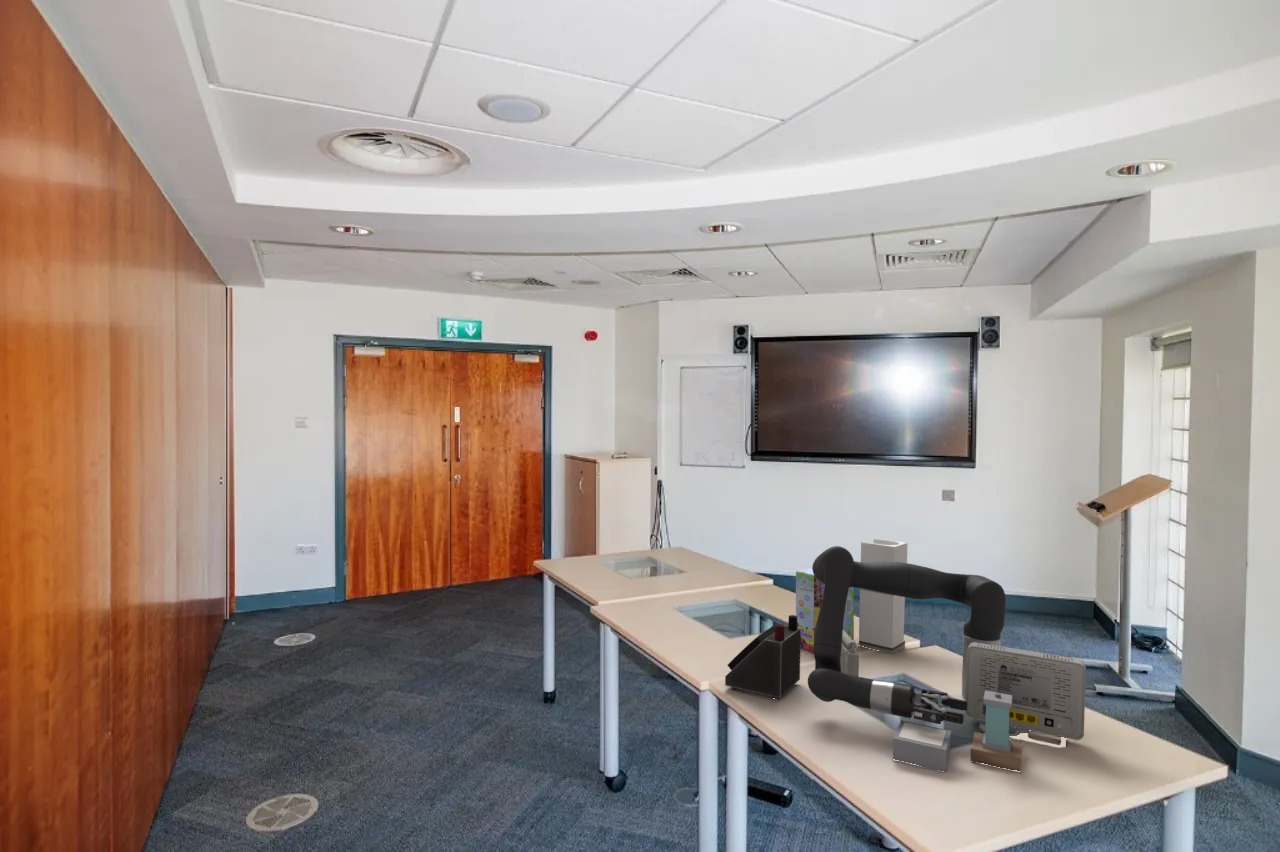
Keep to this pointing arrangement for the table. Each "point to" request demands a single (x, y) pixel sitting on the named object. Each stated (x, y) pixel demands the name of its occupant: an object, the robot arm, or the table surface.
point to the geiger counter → (849, 656)
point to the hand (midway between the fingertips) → (965, 712)
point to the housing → (997, 721)
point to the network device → (1028, 689)
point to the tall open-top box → (882, 602)
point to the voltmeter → (768, 661)
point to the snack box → (816, 607)
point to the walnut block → (996, 754)
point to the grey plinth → (922, 745)
